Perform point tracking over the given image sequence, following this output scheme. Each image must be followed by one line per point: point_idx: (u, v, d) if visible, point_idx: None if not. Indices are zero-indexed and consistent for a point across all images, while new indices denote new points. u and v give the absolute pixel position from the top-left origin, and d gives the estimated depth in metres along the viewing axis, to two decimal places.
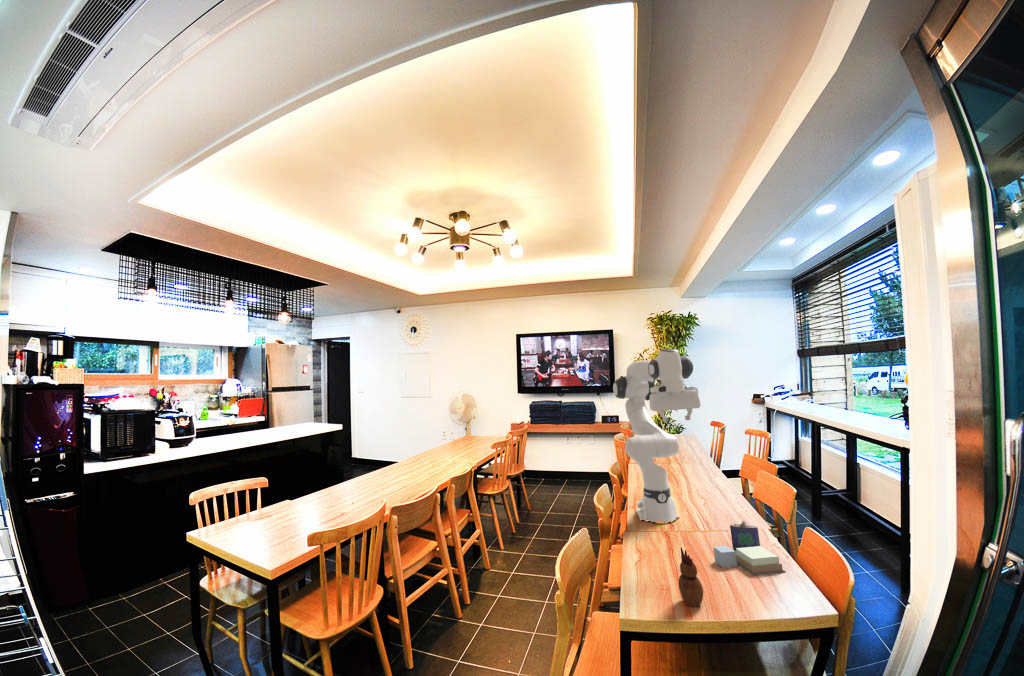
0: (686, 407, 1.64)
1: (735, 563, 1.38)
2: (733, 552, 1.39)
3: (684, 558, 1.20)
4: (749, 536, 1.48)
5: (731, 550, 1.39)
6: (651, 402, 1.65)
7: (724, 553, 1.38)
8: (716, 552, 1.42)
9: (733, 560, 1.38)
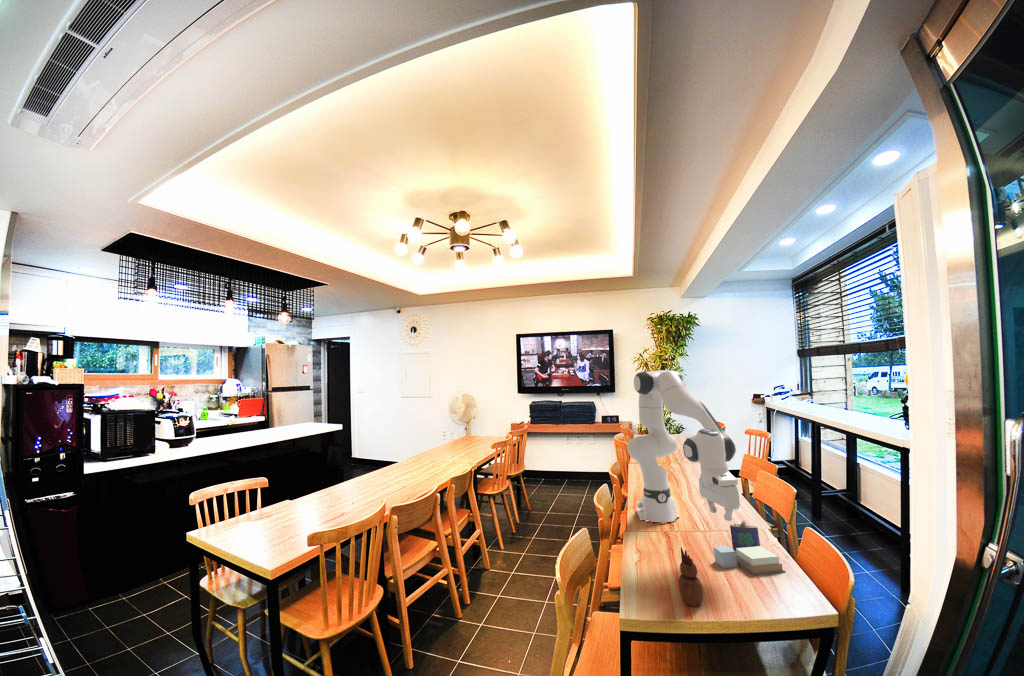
0: None
1: (735, 563, 1.38)
2: (733, 552, 1.39)
3: (684, 558, 1.20)
4: (749, 536, 1.48)
5: (731, 550, 1.39)
6: (734, 498, 1.34)
7: (724, 553, 1.38)
8: (716, 552, 1.42)
9: (733, 560, 1.38)
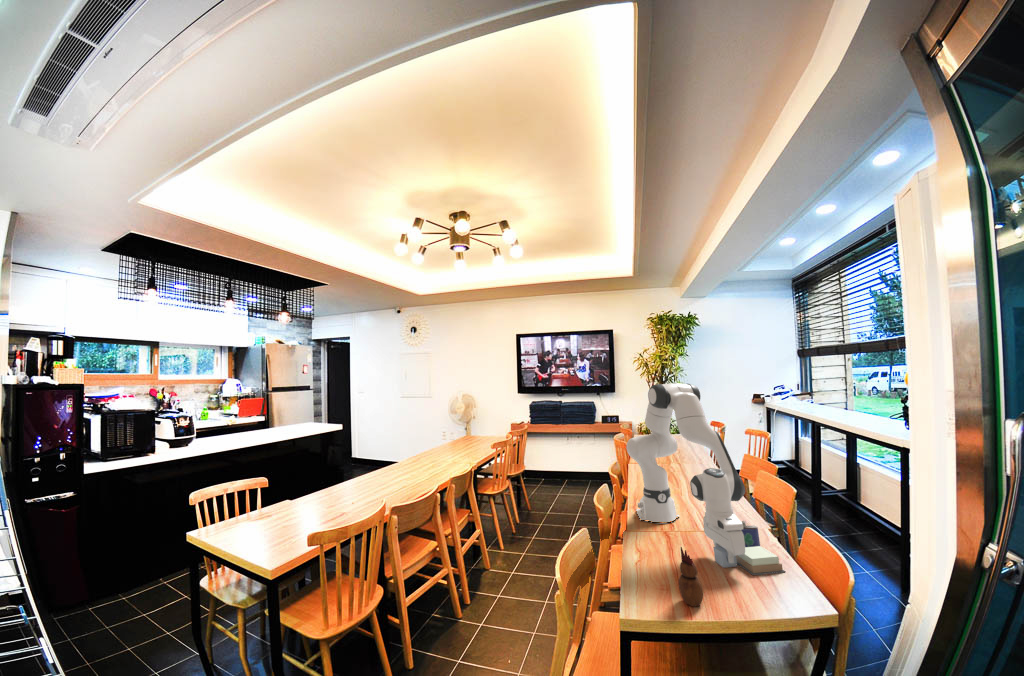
0: None
1: (735, 563, 1.38)
2: None
3: (684, 558, 1.20)
4: (749, 536, 1.48)
5: None
6: (740, 544, 1.32)
7: (724, 553, 1.38)
8: (716, 552, 1.42)
9: None
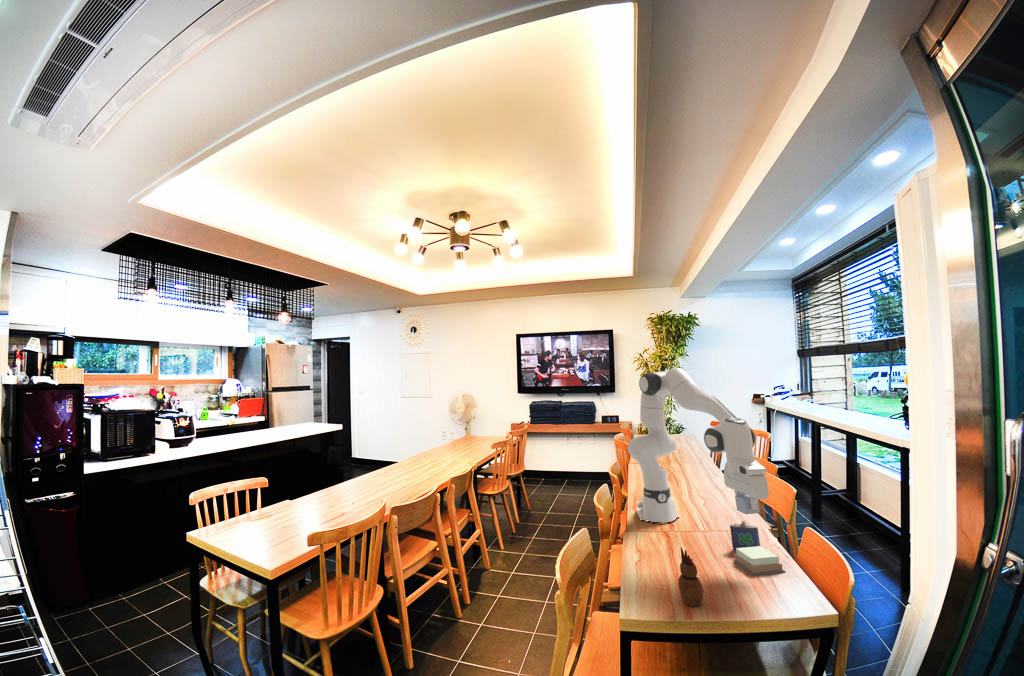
0: None
1: (758, 509, 1.37)
2: None
3: (684, 558, 1.20)
4: (749, 536, 1.48)
5: None
6: (763, 488, 1.31)
7: (746, 500, 1.37)
8: (738, 500, 1.40)
9: None
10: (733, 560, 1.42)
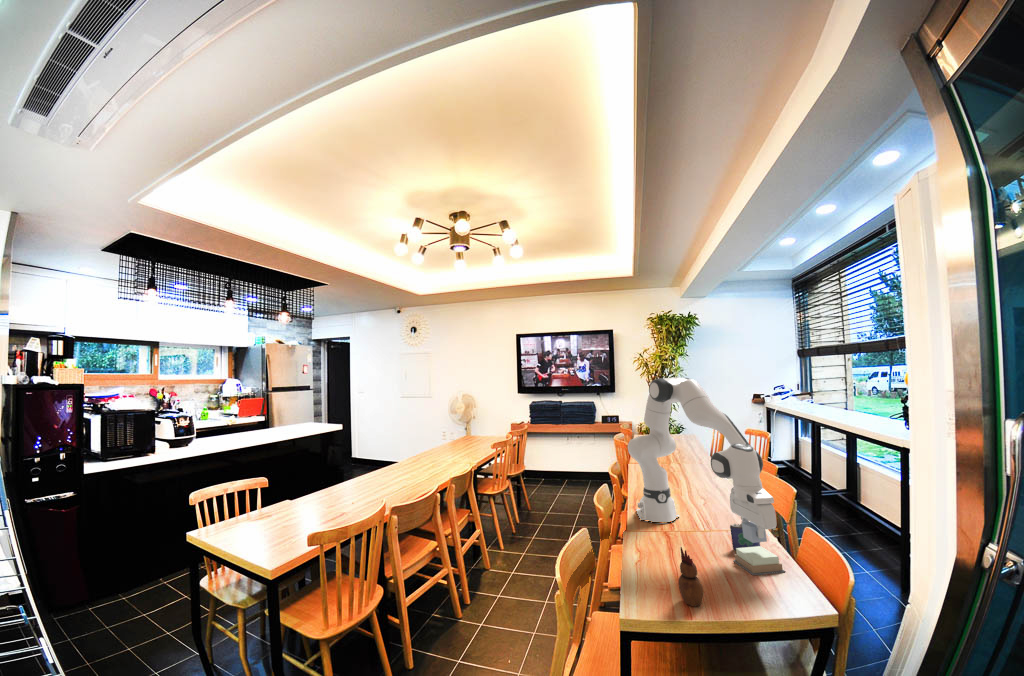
0: None
1: (765, 538, 1.36)
2: None
3: (684, 558, 1.20)
4: None
5: None
6: (771, 517, 1.29)
7: (753, 528, 1.36)
8: (744, 527, 1.39)
9: None
10: (733, 560, 1.42)
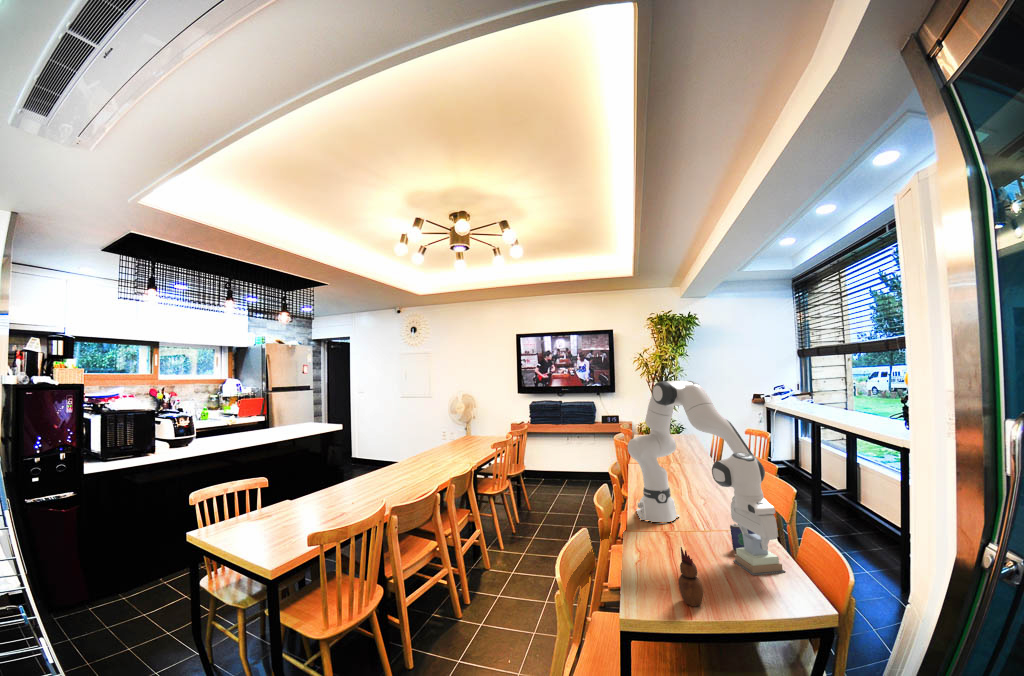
0: None
1: (766, 551, 1.35)
2: None
3: (684, 558, 1.20)
4: None
5: None
6: (772, 528, 1.29)
7: (755, 541, 1.35)
8: (746, 540, 1.39)
9: None
10: (733, 560, 1.42)
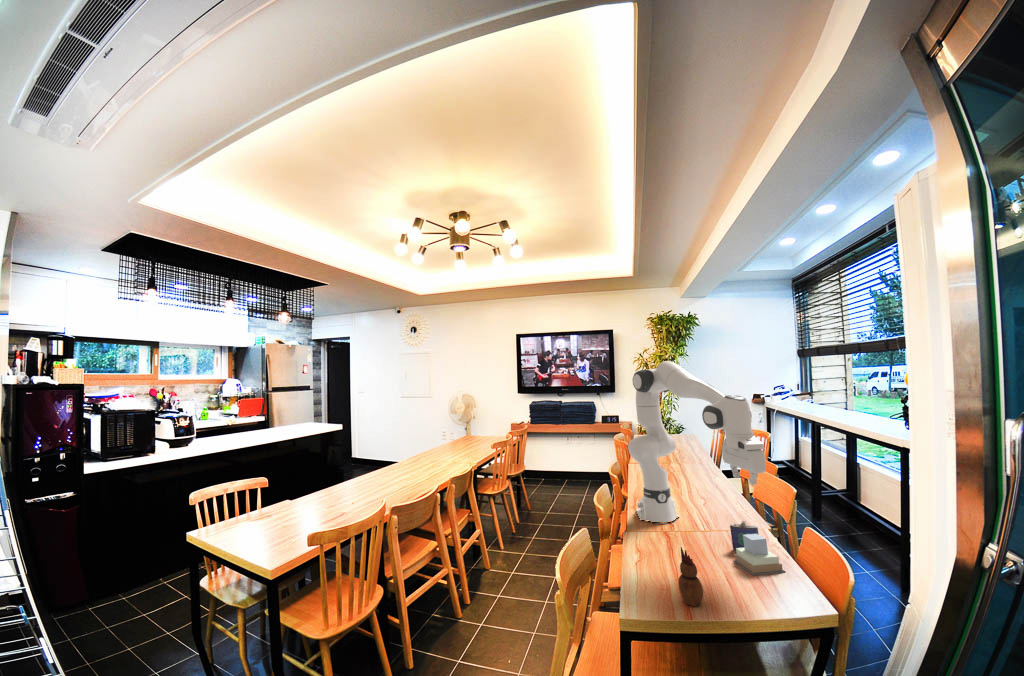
0: None
1: (766, 551, 1.35)
2: (764, 540, 1.36)
3: (684, 558, 1.20)
4: None
5: (761, 538, 1.37)
6: (760, 462, 1.34)
7: (755, 541, 1.35)
8: (746, 540, 1.39)
9: (764, 547, 1.35)
10: (733, 560, 1.42)
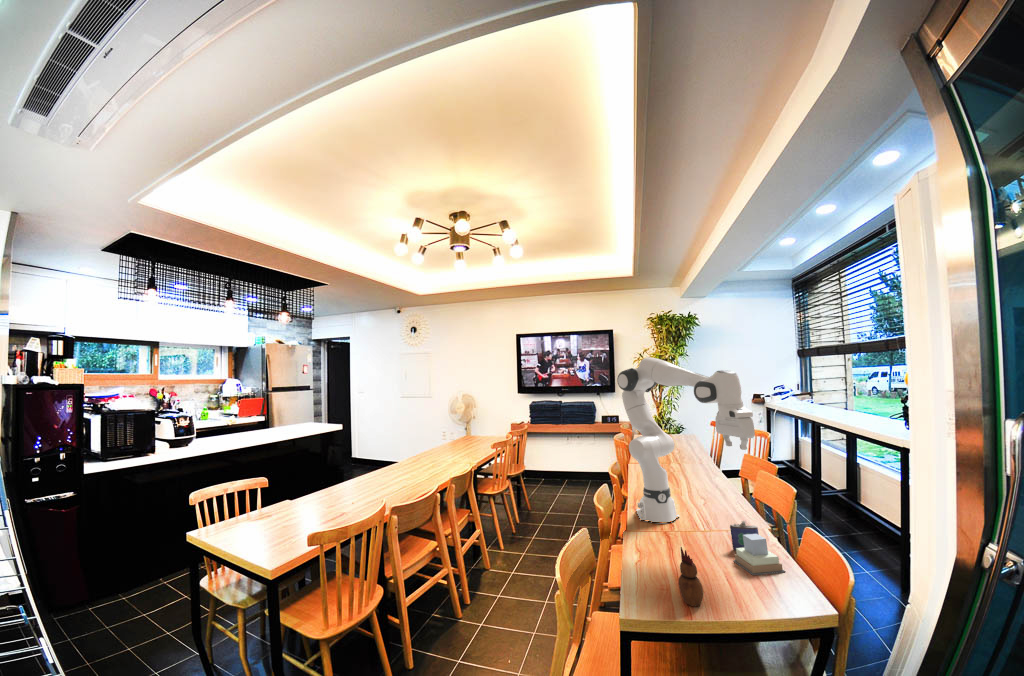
0: None
1: (766, 551, 1.35)
2: (764, 540, 1.36)
3: (684, 558, 1.20)
4: None
5: (761, 538, 1.37)
6: (750, 428, 1.47)
7: (755, 541, 1.35)
8: (746, 540, 1.39)
9: (764, 547, 1.35)
10: (733, 560, 1.42)
